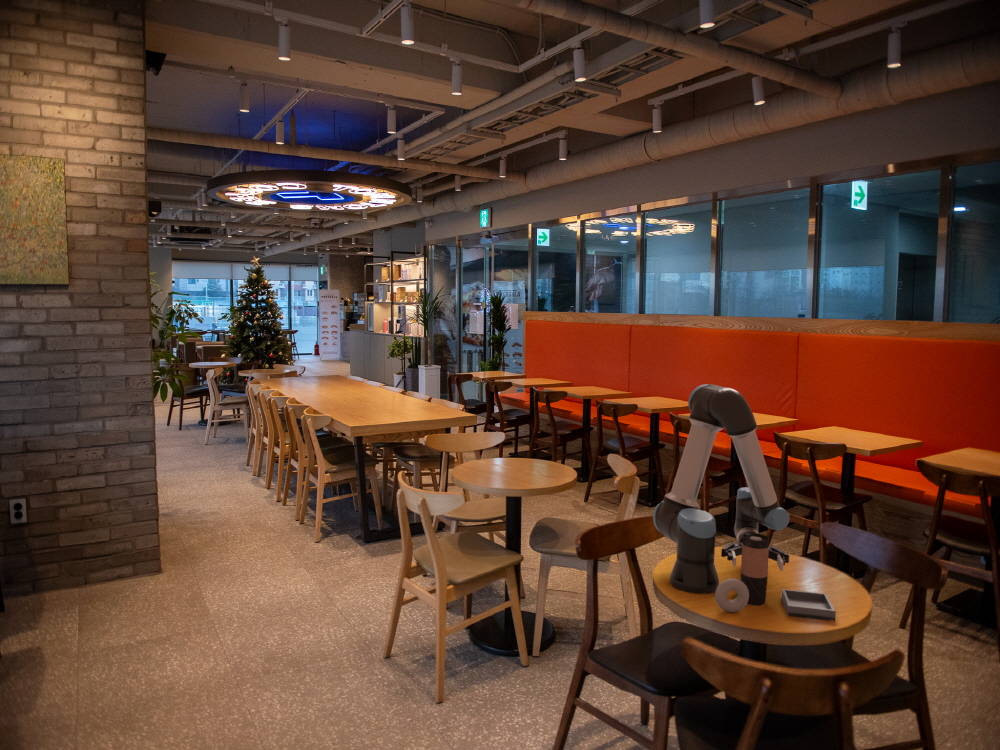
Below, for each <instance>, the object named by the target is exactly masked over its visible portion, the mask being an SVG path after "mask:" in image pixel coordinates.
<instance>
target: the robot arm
mask: <svg viewBox="0 0 1000 750" xmlns="http://www.w3.org/2000/svg"><path fill="white" fill-rule="evenodd" d="M687 405H688V408H689V411H690V413H689V417H688V420H689V422H690V424H691V425H690V429H689V432H688V435H687V439H686V443H685V446H684V449H683V452H682V454H681V455H682V456H681V458H680V461H679V465H678V467H677V472H676V473H675V474H676V475H675V477H674V481H673V484H672V488H671V489H670V490H671V491H670V492H668V493H666V494H665V495H664V498H663V500H662V501H660V502H659V503H658V504H657V505H656V506H655V508H654V510H653V513H652V521H653V524H654V525H653V526H654V527H655V528H656V530H657V531H658V532H659V533H660V534H661V535H663V536H664V537H665V538H668V540H669V539H670V541H672V542H674V543H675V544H676V560H675V562H674V565H673V568H672V570H671V573H670V574H669V575H670V578H669V582H670V585H671V584H672V585H673V586H672V585H671V586H672V587H674V588H675V589H677V590H679V591H683V592H686V593H690V594H702V595H704V594H711V593H715V592H716V589H717V587H718V585H719V584H720V580H719V576H718V573H717V568H716V564H715V553H716V550H715V549H716V533H717V526H716V525H717V524H716V523H717V522H716V518H715V516H713V515H712V514H711V513H710V512H707V511H706V510H702V509H700V505H699V503H698V502H697V498H698V495H699V491H700V488H701V485H702V483H703V479H704V475H705V472H706V469H707V467H708V462H709V459H710V456H711V453H712V451H713V447H714V444H715V441H716V437H717V434H718V432H720V431H722V430H724V429H725V432H726V435H727V436H729V437H731V439H732V443H733V445H734V448H735V451H736V455H737V458H738V460H739V463H740V466H741V469H742V472H743V475H744V477H745V480H746V484H747V487H740V488H738V489H737V490H736V491H737V493H736V494H737V495H736V499H735V501H736V503H735V505H736V506H735V507H736V511H735V523H734V526H733V533H734V536H735V537H736V541H737V543H736V542H735V541H733V540H730V542H729V543H728V544H726V545H725V546H723V547H722V548H721V554H720V556H721V557H722V558H726V557H727V559H726V560H727V561H729V562H730V561H731V563H732V567H737V557H738V556H742V543H743V535H744V534H746V535H751V534H752V533H757V534H760V533H759V524H761V525H763V526H765V527H766V528H768V529H772V530H774V531H782V530H784V529H785V528H787V526H788V524H789V523H790V515H789V512H788V511H787V510H786V509H785V508H783V507H782V506H780V505H781V504H780V503H779V499H778V497H777V494H776V491H775V489H774V485H773V481H772V479H771V475H770V472H769V469H768V466H767V463H766V460H765V458H764V457H765V456H764V454H763V451H762V450H763V449H762V448H761V445H760V442H759V438H758V435H757V432H756V431H757V429H758V425H757V421H756V419H755V415H754V413H753V411H752V408H751V406H750V405H749V403H748V401H747V400H746V398H745V397H744V396H743V394H742V393H740V392H739V391H738V390H737V389H734V388H731V387H724V386H720V385H717V384H712V383H711V384H709V383H706V384H701V385H699V386H696V387H695V388H694V389H693V390H692V391H691V393H690V394H689V397H688V401H687ZM768 559H770V560H772V561H774V562H776V564H777V566H778V568H779V571H781V572H783V571H784V566H786V564H789V563H790V554H788V553H787V552H785V551H783V550H782V549H779V548H778V547H776V546H775V545H774V544H769V554H768Z"/></svg>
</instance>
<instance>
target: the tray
mask: <svg viewBox="0 0 1000 750" xmlns="http://www.w3.org/2000/svg"><path fill="white" fill-rule="evenodd" d="M780 599H781V602H782V605H783V608H784V609H785V612H786V614H787V616H788V617H795V618H804V619H812V620H821V621H830V620H833V621H832V622H836V614H837V613H836V611H837V610H836V609H835V607H834V605H833V603H832V602H831V599H830V597H829V596H828V594H827V593H825V592H824V593H823V592H815V591H806V590H796V589H795V590H794V589H787V588H781V597H780Z"/></svg>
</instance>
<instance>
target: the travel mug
mask: <svg viewBox="0 0 1000 750" xmlns="http://www.w3.org/2000/svg"><path fill="white" fill-rule="evenodd" d="M769 546H770V538H769V536H767V535H765V534H761V533H759V534H757V533H752V534H751V535H746V534H744V535H743V543H742V555H741V562H740V563H741V564H740V581H742V582H743V583H744V584H745V585H746V586H747V589H748V591H749V599H748V602H747V604H746V605H750V606H755V607H756V606H757V607H758V606H763V605H765V604H766V602H767V601H766V599H767V585H768V578H769V577H768V575H769V574H768V573H769V558H768V554H769Z"/></svg>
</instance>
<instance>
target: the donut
mask: <svg viewBox="0 0 1000 750" xmlns="http://www.w3.org/2000/svg"><path fill="white" fill-rule="evenodd" d="M731 591H734V592H736V597H735V598H734V599H731V600H729V599H728V594H729V593H730V592H731ZM714 599H715V602H716V604H717V607H719V608H720V609H721V610H722V611H724V612H727V613H737V612H740V611H741V610H743V609H744V608H745V607H746V606H747V605H748V604H747V602H748V599H749V591H748V589H747V586H746V585H745V584H744V583H743V582H742V581H741V579H740V580H739V579H737V578H733V577H732V578H727V579H724V580H722V581H720V582H719V585H718V587H717V589H716V591H715V592H714Z"/></svg>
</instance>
